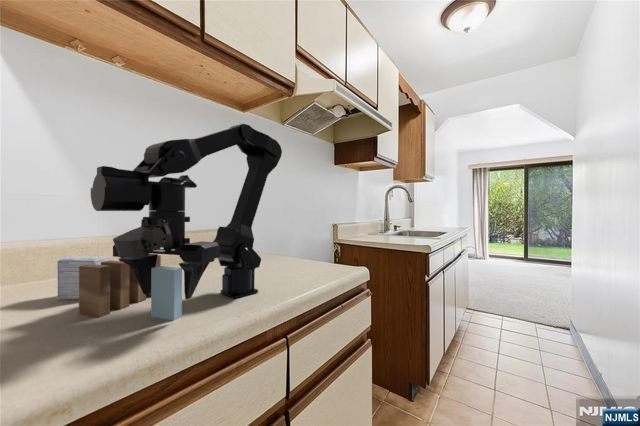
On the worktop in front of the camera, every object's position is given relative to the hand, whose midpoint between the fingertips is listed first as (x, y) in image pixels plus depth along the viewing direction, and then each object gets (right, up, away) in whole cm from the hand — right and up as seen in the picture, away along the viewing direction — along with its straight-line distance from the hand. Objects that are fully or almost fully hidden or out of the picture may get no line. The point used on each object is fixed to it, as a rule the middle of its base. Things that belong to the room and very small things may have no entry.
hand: (167, 296), depth 48 cm
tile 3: (-12, -4, +8) cm, 15 cm away
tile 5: (-14, -4, +1) cm, 14 cm away
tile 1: (0, -4, 0) cm, 4 cm away
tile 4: (-13, -4, +4) cm, 14 cm away
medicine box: (-24, -4, +10) cm, 26 cm away
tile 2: (-11, -3, +12) cm, 17 cm away
